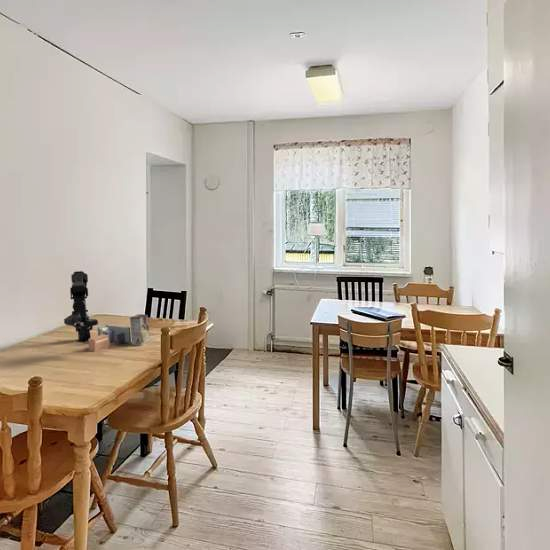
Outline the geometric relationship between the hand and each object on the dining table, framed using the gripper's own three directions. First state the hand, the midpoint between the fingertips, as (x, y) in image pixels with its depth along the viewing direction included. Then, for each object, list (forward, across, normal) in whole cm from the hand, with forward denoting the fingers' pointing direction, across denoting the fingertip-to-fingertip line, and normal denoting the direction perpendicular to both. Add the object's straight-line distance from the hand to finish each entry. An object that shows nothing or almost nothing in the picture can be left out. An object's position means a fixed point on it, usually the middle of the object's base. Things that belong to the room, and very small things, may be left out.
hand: (82, 337), depth 218 cm
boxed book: (+9, 0, +11) cm, 14 cm away
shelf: (+9, -1, +23) cm, 24 cm away
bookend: (+9, +6, +22) cm, 25 cm away
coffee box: (+9, +14, +27) cm, 32 cm away
